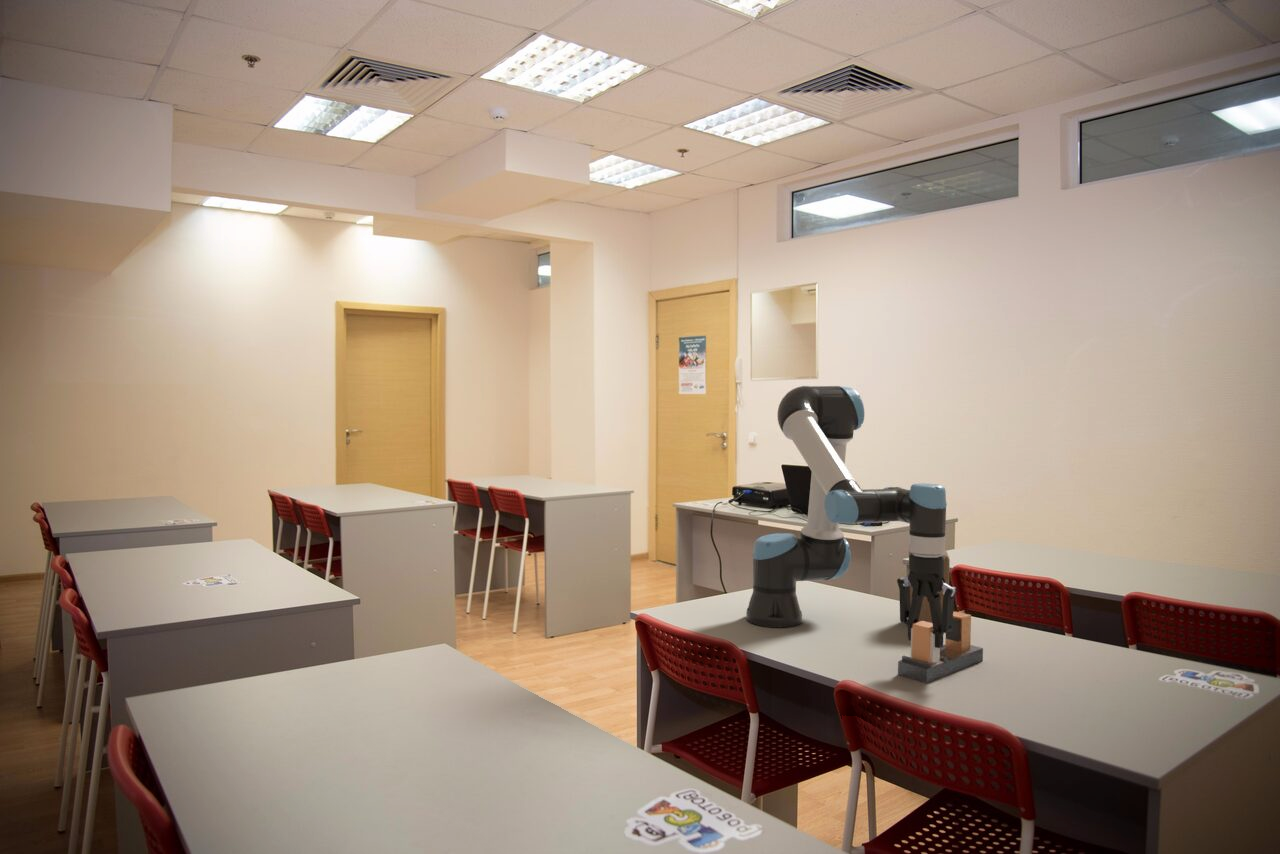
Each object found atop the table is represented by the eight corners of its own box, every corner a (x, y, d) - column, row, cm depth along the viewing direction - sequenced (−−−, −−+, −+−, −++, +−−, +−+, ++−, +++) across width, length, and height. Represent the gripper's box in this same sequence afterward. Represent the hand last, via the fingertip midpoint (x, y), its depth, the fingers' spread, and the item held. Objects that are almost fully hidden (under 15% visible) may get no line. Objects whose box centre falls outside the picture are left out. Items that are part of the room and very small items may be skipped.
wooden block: (908, 628, 218) (909, 554, 217) (907, 618, 228) (908, 547, 227) (948, 632, 215) (949, 556, 215) (945, 622, 225) (947, 549, 224)
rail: (897, 674, 182) (898, 625, 181) (954, 653, 197) (955, 608, 197) (926, 683, 177) (927, 632, 176) (982, 660, 192) (983, 614, 191)
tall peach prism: (912, 659, 183) (912, 623, 182) (923, 655, 186) (924, 620, 185) (928, 664, 179) (928, 627, 179) (940, 659, 183) (940, 624, 182)
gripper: (972, 557, 177) (970, 664, 178) (902, 546, 190) (900, 646, 191) (953, 562, 172) (951, 672, 173) (883, 550, 186) (881, 652, 186)
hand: (925, 658), depth 182 cm, fingers closed on tall peach prism, 4 cm apart
